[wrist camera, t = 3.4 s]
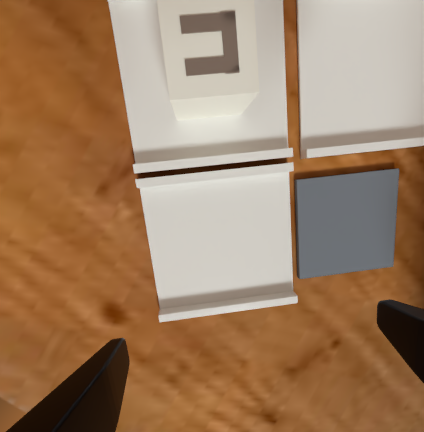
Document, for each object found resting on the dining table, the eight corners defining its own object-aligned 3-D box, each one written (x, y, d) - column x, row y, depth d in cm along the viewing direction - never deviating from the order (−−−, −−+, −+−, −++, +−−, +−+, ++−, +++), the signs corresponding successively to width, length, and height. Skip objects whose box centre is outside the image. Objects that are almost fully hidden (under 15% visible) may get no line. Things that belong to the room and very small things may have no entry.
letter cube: (236, 41, 15) (253, -15, 10) (241, 114, 16) (259, 91, 11) (167, 46, 15) (155, -9, 10) (176, 120, 15) (169, 99, 11)
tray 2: (287, 163, 17) (293, 162, 16) (292, 296, 19) (297, 302, 18) (138, 178, 16) (135, 179, 15) (161, 314, 18) (159, 322, 17)
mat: (394, 168, 18) (399, 168, 17) (389, 264, 19) (393, 266, 19) (294, 179, 17) (296, 180, 17) (297, 276, 19) (299, 278, 18)
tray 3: (454, -25, 15) (472, -39, 14) (438, 144, 17) (453, 142, 16) (296, -15, 15) (303, -29, 14) (300, 158, 17) (306, 158, 16)
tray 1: (280, -18, 15) (287, -31, 14) (287, 157, 17) (293, 156, 16) (107, -7, 14) (101, -20, 13) (137, 173, 16) (134, 173, 15)
